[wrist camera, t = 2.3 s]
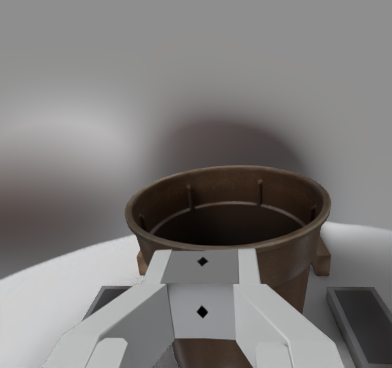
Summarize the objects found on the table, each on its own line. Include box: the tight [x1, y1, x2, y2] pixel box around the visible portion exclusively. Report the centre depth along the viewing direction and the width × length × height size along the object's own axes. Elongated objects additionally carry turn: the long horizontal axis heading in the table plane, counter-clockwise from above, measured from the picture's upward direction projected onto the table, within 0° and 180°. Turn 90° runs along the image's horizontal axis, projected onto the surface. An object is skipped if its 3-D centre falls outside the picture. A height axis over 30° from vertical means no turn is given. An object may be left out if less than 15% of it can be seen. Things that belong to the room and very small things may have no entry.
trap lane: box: [82, 235, 392, 368], centre depth 38 cm, size 32×26×3 cm
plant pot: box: [125, 165, 331, 368], centre depth 27 cm, size 16×16×16 cm
